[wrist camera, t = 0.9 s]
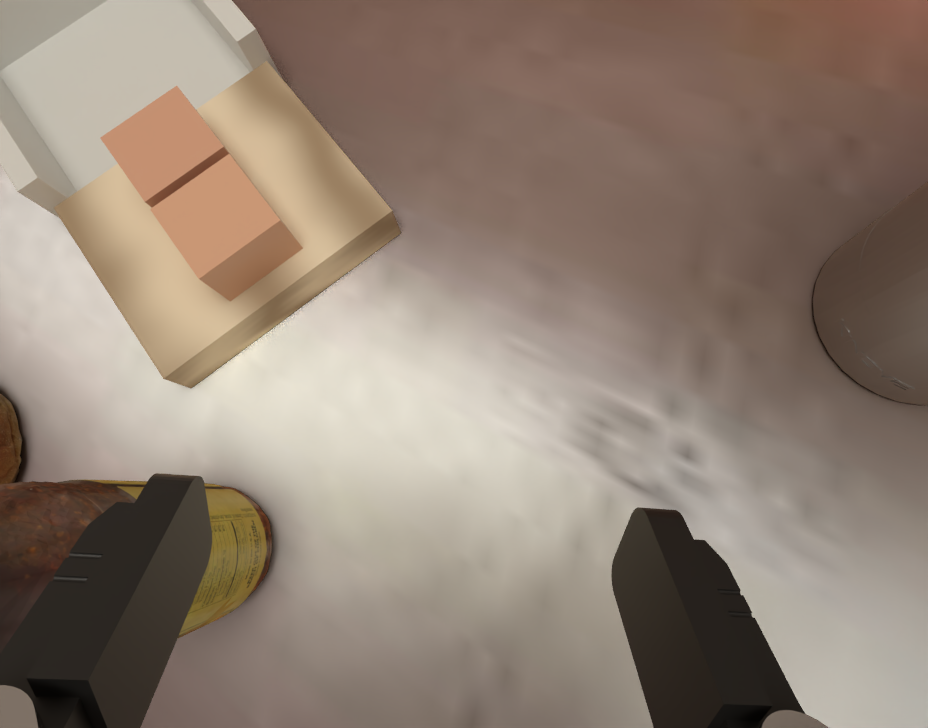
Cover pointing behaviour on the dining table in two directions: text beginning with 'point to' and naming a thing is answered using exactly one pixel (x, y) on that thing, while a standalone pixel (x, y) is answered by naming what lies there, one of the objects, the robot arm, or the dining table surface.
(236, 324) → the board
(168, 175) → the tile
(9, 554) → the sauce bottle
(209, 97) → the box
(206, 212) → the tan block
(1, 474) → the bread roll
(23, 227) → the dining table surface
